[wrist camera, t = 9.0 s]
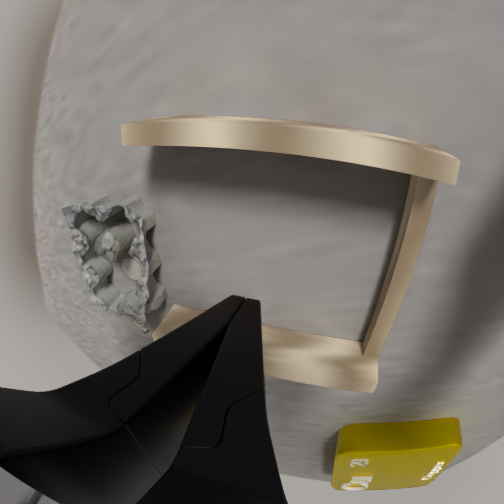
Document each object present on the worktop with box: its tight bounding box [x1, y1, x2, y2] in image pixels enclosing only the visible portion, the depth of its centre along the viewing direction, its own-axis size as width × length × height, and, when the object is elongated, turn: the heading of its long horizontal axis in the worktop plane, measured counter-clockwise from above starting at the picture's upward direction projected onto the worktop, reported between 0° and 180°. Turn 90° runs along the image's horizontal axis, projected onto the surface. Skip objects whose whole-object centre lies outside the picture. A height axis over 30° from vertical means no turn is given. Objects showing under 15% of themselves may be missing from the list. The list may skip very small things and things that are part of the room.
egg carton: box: [62, 194, 167, 333], centre depth 22 cm, size 11×8×4 cm
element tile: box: [331, 417, 463, 490], centre depth 27 cm, size 15×15×5 cm
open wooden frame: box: [121, 116, 460, 393], centre depth 18 cm, size 17×16×4 cm
